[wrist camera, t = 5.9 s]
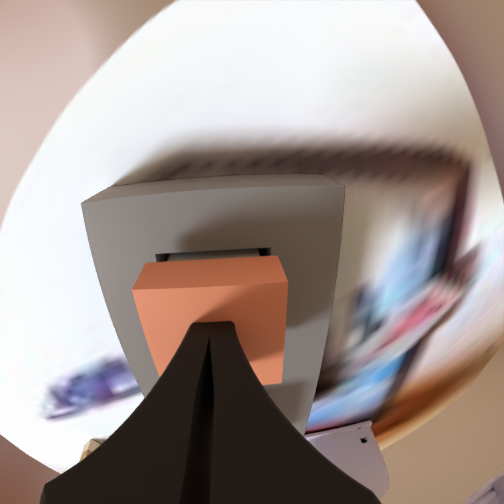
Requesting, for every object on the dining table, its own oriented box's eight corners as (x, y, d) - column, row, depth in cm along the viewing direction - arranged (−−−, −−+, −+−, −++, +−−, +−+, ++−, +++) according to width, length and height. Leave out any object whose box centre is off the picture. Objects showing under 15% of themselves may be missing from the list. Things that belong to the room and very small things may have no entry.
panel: (320, 173, 12) (345, 186, 10) (296, 408, 20) (303, 438, 17) (109, 187, 12) (81, 202, 9) (173, 415, 19) (170, 444, 16)
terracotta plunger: (266, 227, 12) (287, 282, 8) (266, 312, 14) (281, 383, 10) (162, 233, 12) (131, 289, 8) (177, 317, 14) (163, 387, 10)
